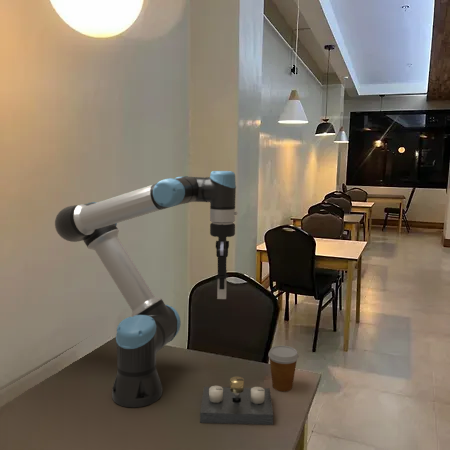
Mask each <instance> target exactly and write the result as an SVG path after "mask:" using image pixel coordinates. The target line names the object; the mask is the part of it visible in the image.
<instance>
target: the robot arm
mask: <svg viewBox="0 0 450 450" xmlns="http://www.w3.org/2000/svg"><path fill="white" fill-rule="evenodd" d="M236 181H237V180H236V174H235V172H234V171H230V170H212V171H211V172H210V176H206V177H204V176H203V177H201V176H187V175H185V176H184V175H183V176H177V177H175V178H169V177H168V178H164V179H162V180H159V181H158V182H157V183H153V184H150V185H148V186H144V187H141V188H138V189H135V190H132V191H128V192H125V193H122V194H119V195H117V196H113V197H110V198H107V199H104V200H100V201H98V202H95V201H93V202H88V203H84V204H81V203H80V204H76V205H69V206H65V207H64V208H62V209H61V210H60V211H59V212H58V213H57V215H56V217H55V220H54V228H55V231H56V232H57V234H58V235H59V236H60V237H61V239H63V240H66V241H67V242H72V243H73V242H74V243H76V242H81V241H82V242H83V243H84V245H85V246H86V247H87V248H88V249H89V250H93V251H95V253H96V255H97V256H98V258H99V259H100V261H101V263H102V264H103V266H104V267H105V269H106V271H107V273H109V275H110V278H111V279H112V280H113V282H114V284H115V285H116V287H117V288H118V290H119V292H120V293H121V295H122V297H123V298H124V300H125V302H126V303H127V304H128V306H129V308H130V309H131V311H132V312H131V316H128V317H126V318H124V319H123V320H121V321H120V322H119V324H118V325H117V328H116V334H115V341H116V363H117V364H116V365H117V367H116V368H117V373H116V376H115V379H114V382H113V385H112V387H111V388H112V390H111V397H112V400H113V402H114V403H115V404H117V405H119V406H121V407H125V408H141V407H142V408H143V407H146V406H149V405H151V404H154V403H156V402H157V401H158V400H159V399H160V398H161V397H162V395H163V384H162V383H163V382H161V378H160V375H159V372H158V369H157V352H159V351H160V350H161V349H162V348H164V347H165V346H166V345H167V344H169V343H170V342H172V341H173V340H174V339H175V337H176V336H177V335H178V334H179V332H180V328H181V317H180V314H179V312H178V311H177V309H176V308H175V307H173V306H170V305H168V304H165V302H164V300H163V298H161V297H157V296H155V294H153V292H152V289H150V287H149V285H148V284H147V282H146V280H145V278H144V277H143V276H142V274H141V272H140V270H138V269H139V268H137V265H136V264H135V263H134V261H133V259H132V258H131V256H130V254H129V253H128V252H127V250H126V248H125V247H124V245H123V244H122V242H121V240H120V239H119V237H118V236H119V231H120V230H119V228H118V227H117V225H118V224H119V223H121V222H125V221H127V220H132V219H135V218H138V217H141V216H145V215H148V214H151V213H154V212H159V211H161V210H165V209H168V208H173V207H176V206H179V205H183V204H189V203H194V202H195V203H209V221H210V222H211V223H210V224H209V227H210V228H209V234H210V236H212V237H213V238H214V237H215V238H218V240H216V241H215V249H216V254H215V255H216V257H217V275H216V276H215V279H217V283H216V284H217V285H216V286H217V292H216V294H217V295H216V297H217V298H216V299H217V300H227V279H228V278H229V273H227V272H228V270H227V258H228V257H229V256H228V255H229V248H230V241H229V240H227V238H231V237H234V236H235V234H236V224H235V221H236V216H238V212H237V211H236V195H237V194H236V193H237V185H236ZM227 277H228V278H227Z"/></svg>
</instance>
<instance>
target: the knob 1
mask: <svg viewBox="0 0 450 450" xmlns="http://www.w3.org/2000/svg"><path fill="white" fill-rule="evenodd" d="M209 387H210V388H209V400H210V401H211V402H214V403H218V402H221V401H222V400H223V388H222V387H223V386H220V385H212V386H209Z"/></svg>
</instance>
